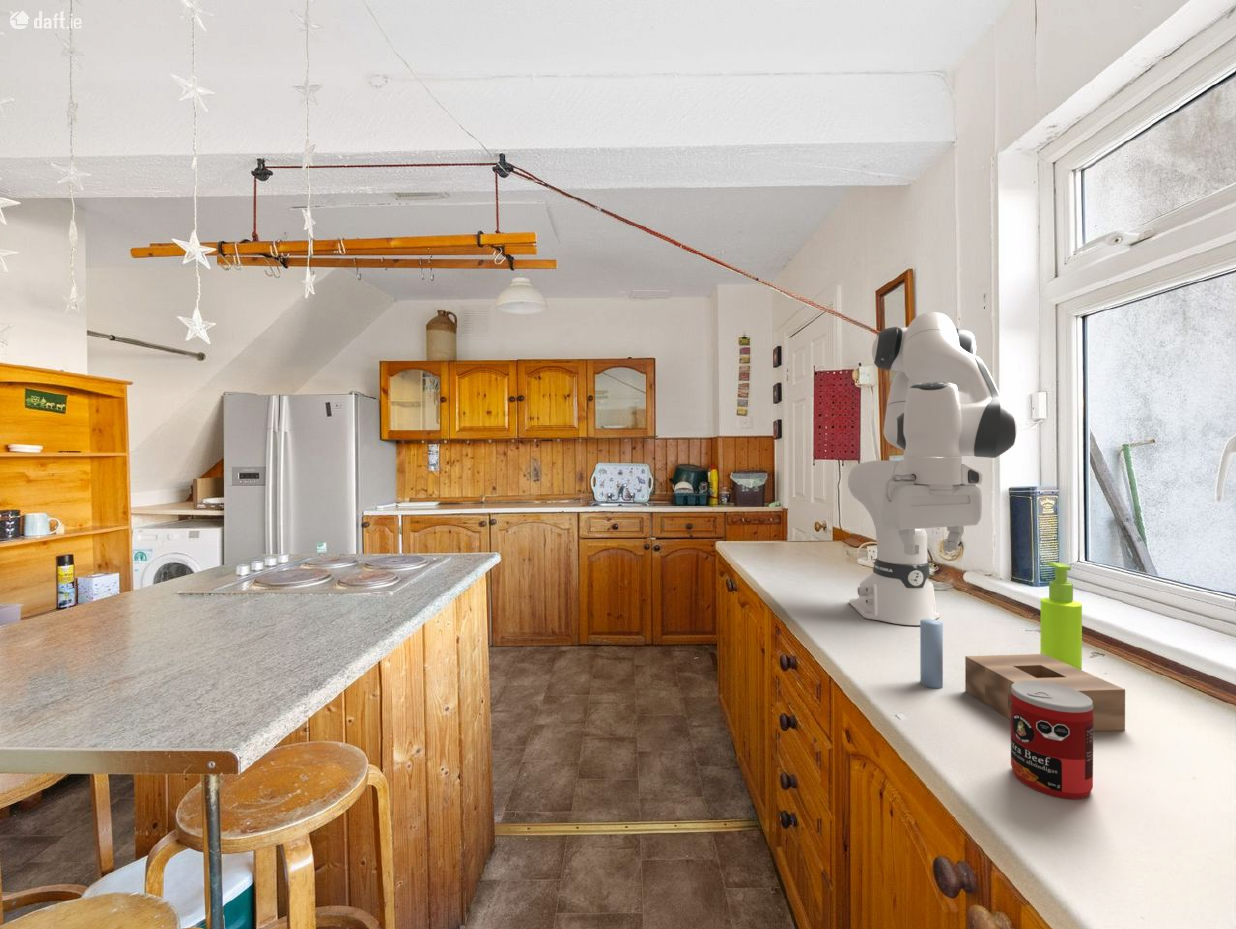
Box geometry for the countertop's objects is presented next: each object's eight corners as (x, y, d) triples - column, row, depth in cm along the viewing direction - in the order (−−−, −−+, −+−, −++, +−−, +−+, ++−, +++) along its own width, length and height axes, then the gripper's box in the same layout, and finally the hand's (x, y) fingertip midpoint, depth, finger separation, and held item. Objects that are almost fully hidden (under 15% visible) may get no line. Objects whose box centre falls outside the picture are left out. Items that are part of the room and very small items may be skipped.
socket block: (965, 691, 91) (965, 656, 91) (1044, 688, 92) (1044, 654, 92) (1032, 733, 77) (1032, 692, 77) (1124, 730, 78) (1125, 689, 78)
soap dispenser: (1069, 666, 102) (1070, 561, 101) (1088, 680, 95) (1088, 568, 95) (1032, 662, 104) (1033, 559, 103) (1048, 676, 97) (1048, 566, 97)
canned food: (995, 765, 70) (995, 681, 69) (1052, 761, 70) (1052, 678, 70) (1047, 803, 62) (1047, 708, 62) (1111, 798, 63) (1111, 705, 63)
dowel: (916, 680, 96) (916, 619, 96) (934, 680, 96) (934, 619, 96) (928, 688, 92) (928, 625, 92) (947, 688, 93) (947, 624, 92)
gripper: (902, 475, 87) (902, 560, 87) (989, 474, 94) (989, 552, 94) (871, 474, 93) (871, 553, 93) (955, 473, 100) (955, 547, 100)
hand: (931, 553), depth 94 cm, fingers open, 8 cm apart
